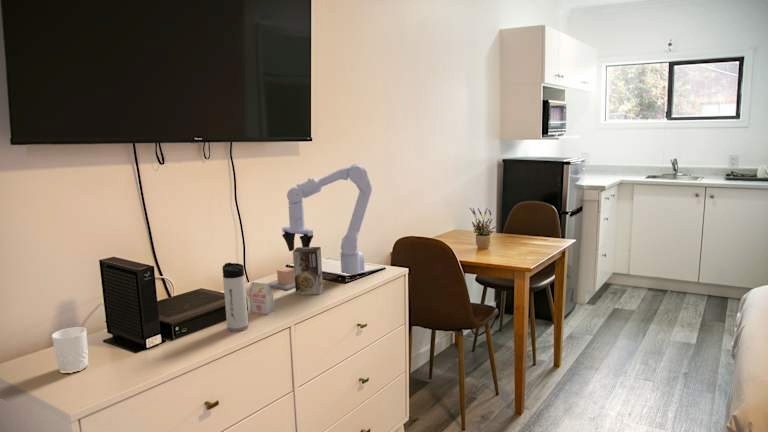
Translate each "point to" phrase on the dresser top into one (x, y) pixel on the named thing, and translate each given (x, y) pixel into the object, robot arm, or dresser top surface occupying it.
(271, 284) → the coaster
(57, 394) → the dresser top surface
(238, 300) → the travel mug
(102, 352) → the dresser top surface
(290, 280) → the cube
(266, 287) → the white printed carton
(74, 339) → the white cup
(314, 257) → the coffee box
